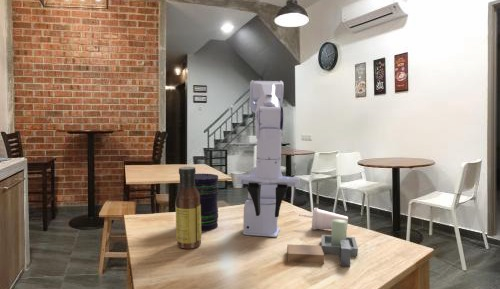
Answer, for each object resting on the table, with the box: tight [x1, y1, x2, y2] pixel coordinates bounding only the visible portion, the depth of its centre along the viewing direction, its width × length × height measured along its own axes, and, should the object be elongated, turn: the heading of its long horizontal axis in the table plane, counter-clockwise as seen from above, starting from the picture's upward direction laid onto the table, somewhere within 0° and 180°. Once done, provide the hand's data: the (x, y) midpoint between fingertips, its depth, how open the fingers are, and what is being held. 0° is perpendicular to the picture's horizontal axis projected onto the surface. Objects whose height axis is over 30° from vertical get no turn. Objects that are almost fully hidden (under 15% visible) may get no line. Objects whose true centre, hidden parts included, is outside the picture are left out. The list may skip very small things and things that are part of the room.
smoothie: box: [298, 207, 349, 231], centre depth 106 cm, size 6×6×14 cm
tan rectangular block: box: [286, 243, 325, 265], centre depth 85 cm, size 8×6×2 cm
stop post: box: [339, 239, 352, 268], centre depth 83 cm, size 2×6×4 cm, turn 169°
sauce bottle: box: [174, 166, 202, 250], centre depth 91 cm, size 6×6×20 cm
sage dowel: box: [331, 219, 348, 246], centre depth 91 cm, size 4×4×6 cm
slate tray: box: [320, 234, 359, 257], centre depth 91 cm, size 8×8×2 cm
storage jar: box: [195, 173, 219, 232], centre depth 107 cm, size 10×10×15 cm
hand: (267, 215), depth 86 cm, fingers open, 4 cm apart
